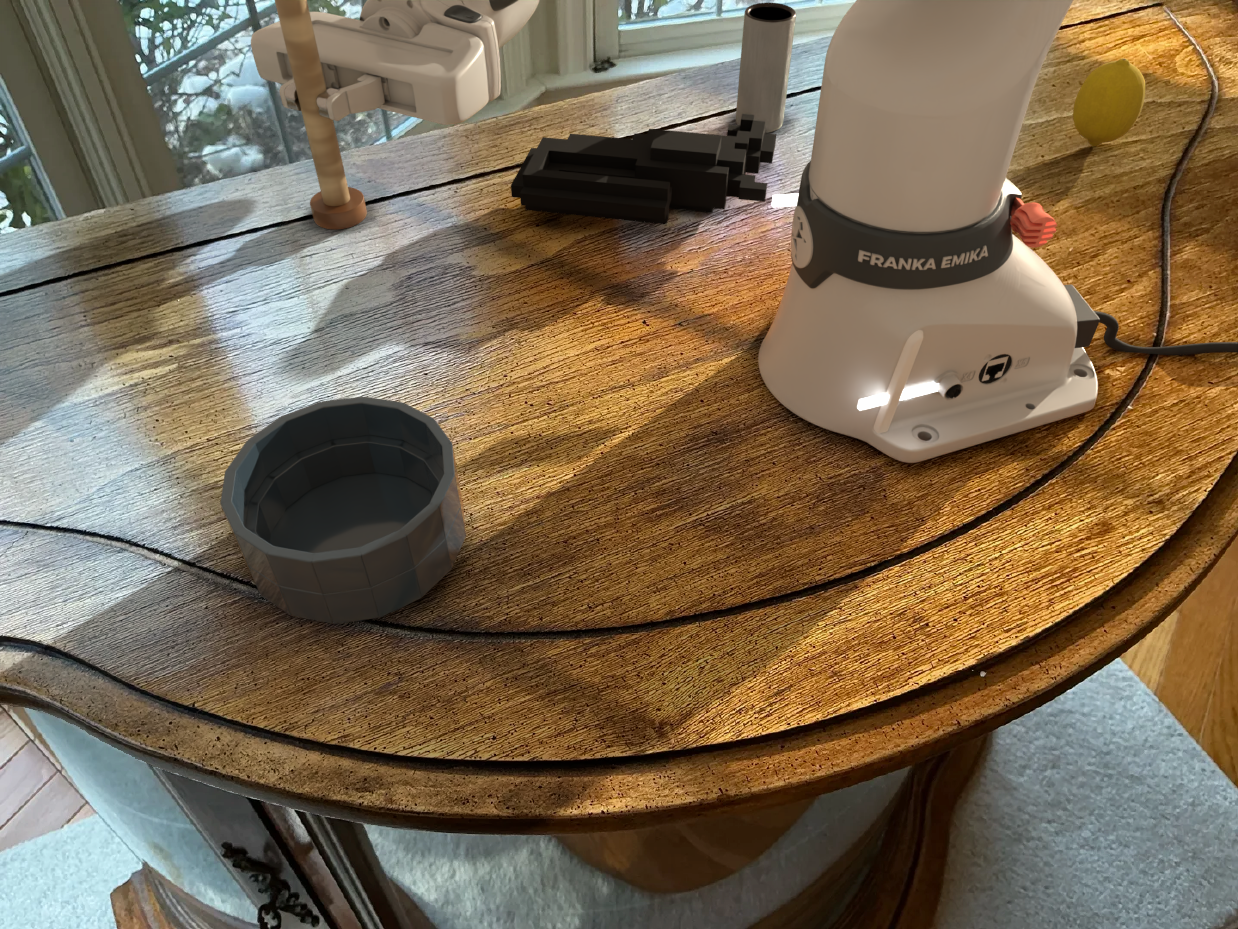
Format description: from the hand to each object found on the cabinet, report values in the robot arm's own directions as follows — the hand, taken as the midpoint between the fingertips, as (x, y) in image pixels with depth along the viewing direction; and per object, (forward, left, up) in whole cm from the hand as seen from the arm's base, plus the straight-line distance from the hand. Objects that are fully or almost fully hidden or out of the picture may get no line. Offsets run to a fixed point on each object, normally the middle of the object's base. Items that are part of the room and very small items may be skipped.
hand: (306, 105), depth 75 cm
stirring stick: (-1, -1, -10) cm, 10 cm away
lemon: (-69, -1, -10) cm, 69 cm away
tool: (-27, 0, -10) cm, 28 cm away
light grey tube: (-40, -11, -10) cm, 42 cm away
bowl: (-3, +36, -10) cm, 38 cm away
